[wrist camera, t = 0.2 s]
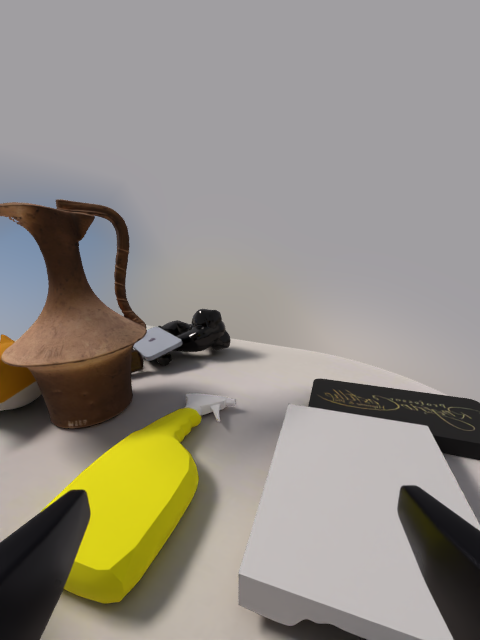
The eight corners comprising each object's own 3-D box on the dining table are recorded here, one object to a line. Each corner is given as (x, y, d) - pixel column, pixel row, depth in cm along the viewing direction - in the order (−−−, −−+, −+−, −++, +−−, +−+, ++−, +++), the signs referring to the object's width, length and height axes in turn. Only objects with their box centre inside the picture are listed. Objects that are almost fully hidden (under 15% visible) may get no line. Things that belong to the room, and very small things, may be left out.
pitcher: (132, 369, 53) (110, 209, 46) (178, 405, 41) (158, 195, 33) (14, 405, 42) (-40, 202, 35) (28, 470, 30) (-50, 176, 22)
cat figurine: (198, 385, 52) (139, 377, 63) (236, 342, 62) (179, 341, 72) (175, 340, 48) (117, 340, 59) (220, 302, 58) (163, 307, 68)
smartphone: (184, 343, 54) (157, 328, 66) (182, 338, 54) (156, 324, 66) (148, 362, 51) (126, 342, 63) (146, 356, 50) (124, 338, 62)
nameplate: (515, 466, 29) (474, 412, 38) (520, 450, 28) (477, 399, 37) (306, 426, 36) (313, 388, 45) (306, 412, 35) (314, 377, 44)
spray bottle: (6, 568, 21) (178, 400, 43) (129, 626, 17) (246, 411, 40) (-3, 536, 20) (176, 382, 43) (123, 591, 17) (246, 392, 39)
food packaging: (287, 427, 36) (238, 614, 18) (288, 403, 35) (238, 573, 17) (422, 452, 32) (547, 739, 13) (427, 425, 31) (567, 691, 12)
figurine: (96, 363, 48) (91, 345, 61) (103, 383, 49) (96, 362, 62) (140, 348, 51) (126, 335, 64) (145, 368, 52) (131, 350, 65)
